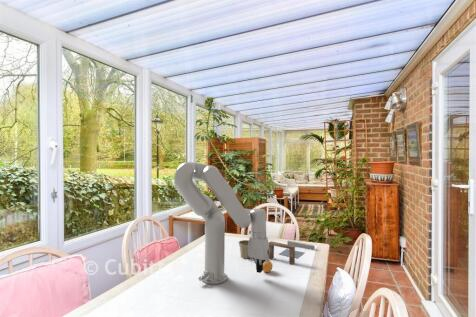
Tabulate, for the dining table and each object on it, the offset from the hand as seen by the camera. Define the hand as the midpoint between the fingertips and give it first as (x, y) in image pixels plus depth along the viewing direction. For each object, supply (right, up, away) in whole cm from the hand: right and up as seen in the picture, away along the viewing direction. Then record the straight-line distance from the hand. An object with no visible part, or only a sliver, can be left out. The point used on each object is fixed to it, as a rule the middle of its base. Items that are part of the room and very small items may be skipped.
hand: (259, 271), depth 138 cm
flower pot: (-6, -3, +29) cm, 30 cm away
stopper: (+31, -3, +48) cm, 57 cm away
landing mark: (+23, -3, +35) cm, 42 cm away
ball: (+4, 0, +8) cm, 9 cm away
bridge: (+14, -3, +23) cm, 27 cm away
